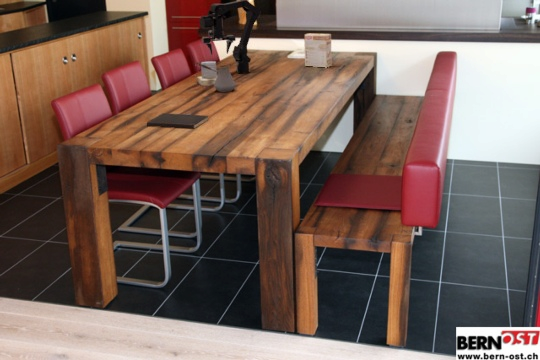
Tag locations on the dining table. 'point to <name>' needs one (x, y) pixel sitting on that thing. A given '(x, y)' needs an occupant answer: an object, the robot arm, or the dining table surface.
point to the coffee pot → (222, 78)
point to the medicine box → (207, 72)
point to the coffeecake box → (317, 50)
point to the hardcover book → (178, 120)
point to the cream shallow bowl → (206, 81)
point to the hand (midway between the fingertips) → (219, 54)
